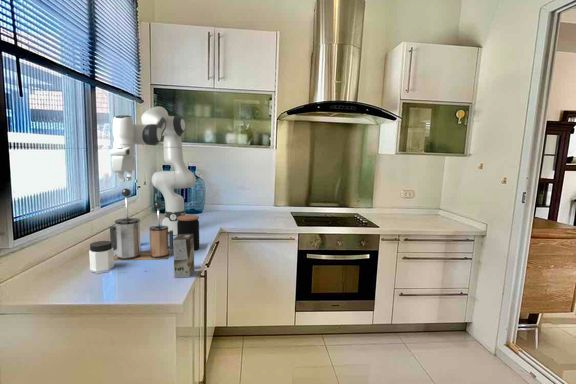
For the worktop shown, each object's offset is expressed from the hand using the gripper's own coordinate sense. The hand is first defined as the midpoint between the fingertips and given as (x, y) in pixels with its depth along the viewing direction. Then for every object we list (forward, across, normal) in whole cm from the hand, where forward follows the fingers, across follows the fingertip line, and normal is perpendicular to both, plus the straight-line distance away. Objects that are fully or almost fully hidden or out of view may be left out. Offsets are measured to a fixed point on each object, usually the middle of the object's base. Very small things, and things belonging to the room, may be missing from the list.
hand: (125, 181), depth 151 cm
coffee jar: (+37, -10, +26) cm, 47 cm away
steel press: (+36, 0, -1) cm, 36 cm away
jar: (+37, +15, -6) cm, 41 cm away
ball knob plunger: (+27, 0, +14) cm, 31 cm away
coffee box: (+37, +22, +29) cm, 52 cm away
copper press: (+36, 0, +15) cm, 39 cm away
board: (+37, -1, +6) cm, 38 cm away
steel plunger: (+25, 0, 0) cm, 25 cm away
